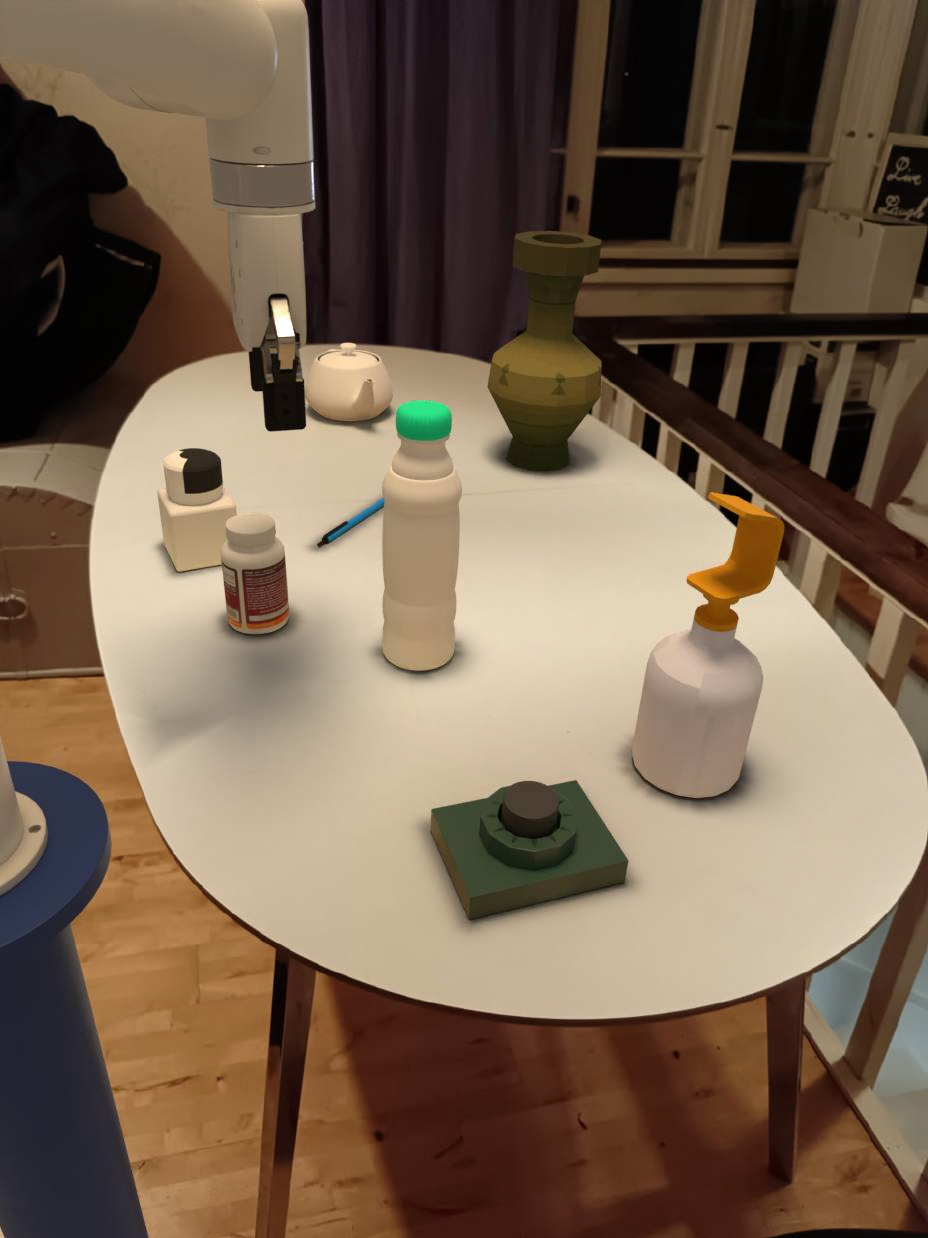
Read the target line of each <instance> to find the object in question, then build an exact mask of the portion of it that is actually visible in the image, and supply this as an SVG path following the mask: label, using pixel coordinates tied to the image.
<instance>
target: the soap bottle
mask: <svg viewBox="0 0 928 1238" xmlns="http://www.w3.org/2000/svg"><path fill="white" fill-rule="evenodd" d="M707 498H708V499H709V500H711V501H712V502H714V503H716V504H717V505H719V506H721V507H723V508H725V509H727V510H729V511H730V512H732V513H734V514H736V515H738V519H737V525H736V530H735V535H734V538H733V544H732V549H731V552H730V555H729V557H728V559H727V560H726V561H725V562H724V563H723V564H720V565H718V566H714V567H710V568H707V569H703V570H700V571H696V572H693V573H689V574H688V575H687V577H686V584H687V585H689V586H690V587H691V588H693V589H695V590H696V591H698V592H699V593H701V595H702V596H703V598H704V599H705V600H706V601H707V603H703V604H701V605H699V606H697V607H696V609H695V610H694V614H693V620H692V624H691V628H690V629H689V628H688V629H684V630H682V631H677V632H675V633H671V634H670V635H667V636H665V637H663V638H662V639H661V640H660V641H659V642H657V643H655V645H654V647H653V648H652V650H651V651H650V653H649V656H648V659H647V662H646V666H645V667H646V668H645V672H644V677H643V684H642V689H641V695H640V701H639V707H638V712H637V717H636V718H637V719H636V724H635V730H634V734H633V740H632V745H631V752H630V753H631V757H632V760H633V765H634V767H635V768H636V770H637V771H638V772H639V774H640V775H641V776H642V777H643V779H644V780H646V781H648V782H649V783H651V784H652V785H653V786H655V787H656V788H658V789H660V790H662V791H664V792H667V793H671V794H673V795H676V796H681V797H687V798H693V799H701V798H712V797H716V796H719V795H721V794H723V793H725V792H728V791H729V790H730V789H731V788H732V787H733V786H734V785H735V784H736V782H737V781H738V780H739V779H740V775H741V771H742V768H743V763H744V759H745V757H746V756H745V755H746V751H747V748H748V745H749V740H750V737H751V732H752V729H753V725H754V720H755V717H756V714H757V710H758V705H759V701H760V697H761V694H762V690H763V683H764V674H763V669H762V665H761V664H760V660H759V659H758V657H757V656H756V655H755V654H754V653H753V652H752V651H751V650H750V649H749V648H748V647H747V646H746V645H745V644H744V643H743V642H741V641H740V640H739V639H737V638H735V637H736V633H737V628H738V624H739V618H740V617H739V614H738V613H737V612H736V611H735V610H734V609H733V608H731V606H733V605H736V604H737V603H739V601H740V600H741V599H745V598H748V597H750V596H751V597H752V596H753V595H754V596H755V595H757V594H760V593H762V592H763V591H765V590H766V589H767V588H768V587H769V585H771V582H772V580H773V578H774V574H775V571H776V566H777V562H778V559H779V558H778V557H779V554H780V550H781V546H782V542H783V538H784V533H785V523H784V521H783V520H781V519H780V518H779V517H777V516H775V515H773V514H771V513H770V512H767V511H766V510H763V509H762V508H759V507H758V506H756V505H754V504H753V503H751V502H749V501H748V500H747V501H746V500H745V499H743V498H741V497H739V496H736V495H731V494H724V493H718V492H709V494H708V496H707Z"/></svg>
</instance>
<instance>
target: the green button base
mask: <svg viewBox="0 0 928 1238" xmlns="http://www.w3.org/2000/svg"><path fill="white" fill-rule="evenodd" d="M509 786H510V785H507V786H502V787H500V788H498V789H497V790H496V791H494V792H493V793H491V794H490V795H489V796H488V797H485V798H484V797H483V798H479V799H475V800H469V801H464V802H458V803H453V804H450V805H449V804H448V805H444V806H439V807H434V808H431V810H430V812H431V813H430V832H431V834H432V837H433V839H434V842H435V843H436V846H437V848H438V851H439V853H440V856H441V858H442V861H443V863H444V865H445V867H446V869H447V873H448V874H449V876H450V879H451V881H452V884H453V886H454V888H455V891H456V893H457V895H458V898H459V900H460V903H461V904H462V907H463V910H464V911H465V914H466V916H467V919H468V920H473V919H476V918H481V917H485V916H488V915H493V914H497V913H501V912H506V911H510V910H514V909H518V908H522V907H523V908H524V907H526V906H527V907H528V906H531V905H536V904H539V903H543V902H547V901H548V902H549V901H551V900H556V899H560V898H564V897H569V896H572V895H576V894H580V893H585V892H589V891H593V890H598V889H602V888H606V887H611V886H615V885H619V884H622V883H625V881H626V877H627V871H628V865H629V859H628V858H627V856H626V854H625V853H624V851H623V850H622V847H620V845H619V843H618V842H617V840H616V839H615V837H614V836H613V834H612V832H611V831H610V830H609V828H608V827H607V825H606V824H605V822H604V820H603V819H602V817H601V815H600V814H599V813H598V811H597V809H596V808H595V806H594V805H593V803H592V802H591V800H590V799H589V797H588V795H587V794H586V792H585V791H584V790H583V788H582V787H581V784H580V783H579V782H578V780H577V779H574V780H569V781H565V782H559V783H555V784H549V785H548V786H549V787H550V788H552V789H553V790H554V791H555V792H556V794H557V796H558V798H559V809H558V816H557V824H556V827H555V829H554V830H553V832H552V833H551V834H549V835H548V836H546V837H542V838H538V839H529V838H523V837H517V836H515V835H513V834H512V833H510V832H509V831H508V830H507V829H506V828H505V827H504V825H503V823H502V806H503V796H504V793H505V791H506V790H507V788H508V787H509Z"/></svg>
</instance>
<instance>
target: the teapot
mask: <svg viewBox="0 0 928 1238" xmlns="http://www.w3.org/2000/svg"><path fill="white" fill-rule="evenodd" d="M339 347H340V349H335V348H330V349H328V350H327V351H324V352H322V353H319V354H318V355H316V357H315V358H314V360H313V363H312V365H311V367H310V369H309V372H308V374H307V378H306V381H305V385H304V387H305V401H307V403H308V405H309V406H310V407H311V408H312V409H313V410H314V411H316V412H317V413H318V414H319V415H320V416H322V417H324V418H326V419H328V420H333V421H340V422H361V421H368V420H371V419H375V418H376V417H379V415H381V413H382V412H384V411H385V410H386V409H387V408H388V407H389V406H390V404H391V403H392V401H393V397H394V391H393V390H394V389H393V384H392V381H391V378H390V375H389V372H388V371H387V368H386V366H385V364H384V361H383V360H382V358H381V357H380V356H379V355H377V354H376V353H374V352H371V351H366V350H360V349H356V348H357V344H356V343H354V342H353V343H352V342H343V343H341V344H340V345H339Z"/></svg>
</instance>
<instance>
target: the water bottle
mask: <svg viewBox="0 0 928 1238" xmlns="http://www.w3.org/2000/svg"><path fill="white" fill-rule="evenodd" d="M452 425H453V414H452V411H451V409H450V408H449V407H448V406H447V405H445V403H444V404H443V403H441V402H438V401H435V400H427V399H426V400H423V399H422V400H420V399H418V400H415V399H414V400H411V401H407V402H403V403H401V404H400V405H399V406H398V407H397V409H396V412H395V429H396V432H397V433H396V435H397V438H398V439H399V441H400V446H399V448H398V449H397V451H396V453H395V454H394V455H393V458H392V461H391V464H390V465H389V467H388V469H387V471H386V473H385V475H384V477H383V480H382V485H381V489H382V490H381V493H382V497H383V498H384V500H385V503H384V506H383V513H382V534H381V535H382V540H381V541H382V544H381V547H382V549H381V550H382V574H383V585H384V588H383V592H382V605H381V606H382V607H381V608H382V617H383V625H382V634H381V635H382V636H381V637H382V638H381V642H382V643H381V647H382V652H383V653H382V654H383V655H384V657H385V658H386V659H387V660H388V661H389V662H390V663H391V664H393V665H395V666H396V667H399V668H400V669H401V668H402V669H404V670H408V671H416V672H417V671H418V672H421V671H423V672H424V671H431V670H434V669H437V668H439V667H442V666H443V665H445V664H446V663H448V662H449V661H450V660H451V659H452V657H453V655H454V653H455V649H456V627H455V620H456V615H457V593H456V585H457V579H458V570H459V558H460V538H461V537H460V535H461V534H460V533H461V528H460V527H461V526H460V525H461V524H460V523H461V520H460V519H461V517H460V516H461V515H460V501H461V498H462V495H463V494H462V493H463V485H462V481H461V478H460V476H459V475H460V474H459V473H458V470H457V469H456V467H455V466H454V461H453V458H452V457H451V455H450V453H449V451H448V450H447V448H446V443H447V441H449V439H450V437H451V435H450V434H451V431H452V427H453V426H452Z"/></svg>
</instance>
